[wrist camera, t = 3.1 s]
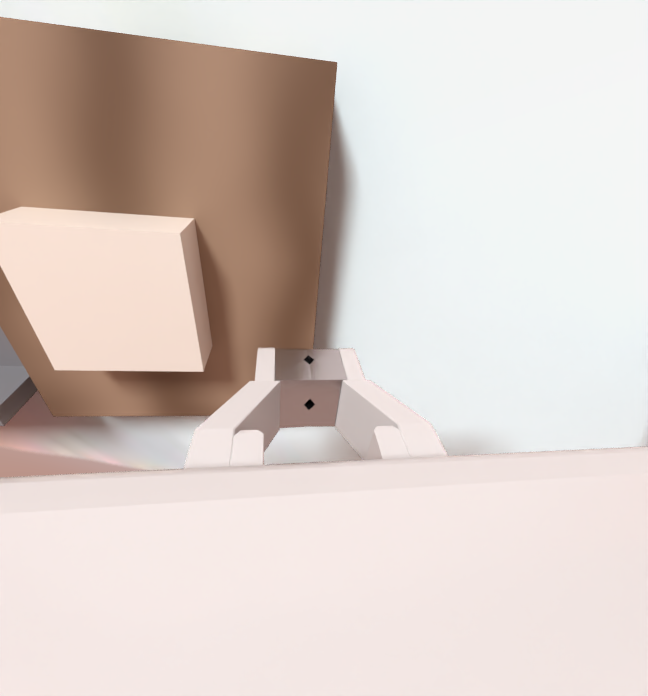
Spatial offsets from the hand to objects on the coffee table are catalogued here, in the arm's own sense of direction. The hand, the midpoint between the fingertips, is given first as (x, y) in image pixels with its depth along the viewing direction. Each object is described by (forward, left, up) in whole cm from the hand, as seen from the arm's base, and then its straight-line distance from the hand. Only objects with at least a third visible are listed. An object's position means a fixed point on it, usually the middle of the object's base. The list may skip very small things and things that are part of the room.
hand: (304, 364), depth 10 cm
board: (+6, 0, -8) cm, 10 cm away
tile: (+7, 0, -5) cm, 9 cm away
